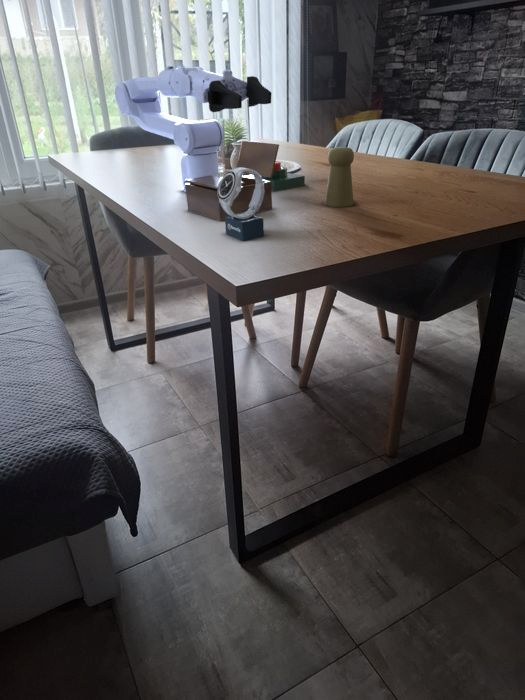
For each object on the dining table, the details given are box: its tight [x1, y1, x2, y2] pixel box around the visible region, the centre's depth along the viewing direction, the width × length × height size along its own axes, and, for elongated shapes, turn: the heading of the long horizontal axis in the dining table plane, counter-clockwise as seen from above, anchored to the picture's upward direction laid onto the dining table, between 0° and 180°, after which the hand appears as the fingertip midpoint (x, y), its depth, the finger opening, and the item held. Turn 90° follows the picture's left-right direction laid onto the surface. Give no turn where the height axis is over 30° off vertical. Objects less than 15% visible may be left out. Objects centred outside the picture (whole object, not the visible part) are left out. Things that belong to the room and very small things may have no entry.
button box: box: [244, 165, 306, 192], centre depth 121 cm, size 12×10×4 cm
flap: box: [235, 140, 280, 178], centre depth 100 cm, size 6×12×1 cm
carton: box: [185, 175, 273, 222], centre depth 99 cm, size 13×12×6 cm
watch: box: [217, 167, 265, 242], centre depth 81 cm, size 6×8×11 cm
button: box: [274, 160, 282, 170], centre depth 119 cm, size 4×4×2 cm
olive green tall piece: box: [324, 146, 355, 208], centre depth 99 cm, size 6×6×11 cm
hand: (255, 100), depth 95 cm, fingers open, 7 cm apart
